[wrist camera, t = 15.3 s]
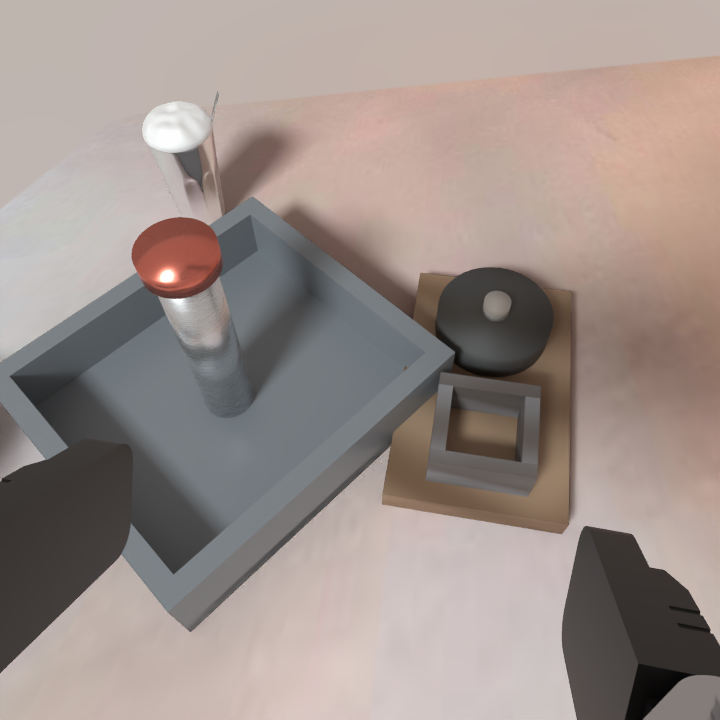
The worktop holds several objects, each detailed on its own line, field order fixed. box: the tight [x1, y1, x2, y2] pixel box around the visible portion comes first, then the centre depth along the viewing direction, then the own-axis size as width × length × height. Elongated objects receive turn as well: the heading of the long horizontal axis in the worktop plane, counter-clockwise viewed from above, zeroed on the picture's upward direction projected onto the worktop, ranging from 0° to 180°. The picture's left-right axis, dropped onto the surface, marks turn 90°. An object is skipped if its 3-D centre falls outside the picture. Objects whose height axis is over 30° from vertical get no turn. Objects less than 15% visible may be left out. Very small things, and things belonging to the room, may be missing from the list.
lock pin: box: [132, 217, 254, 418], centre depth 35 cm, size 4×4×13 cm
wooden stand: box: [382, 267, 571, 534], centre depth 40 cm, size 16×10×4 cm, turn 170°
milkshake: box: [142, 92, 225, 225], centre depth 46 cm, size 4×5×10 cm
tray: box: [0, 196, 455, 632], centre depth 40 cm, size 20×18×4 cm
